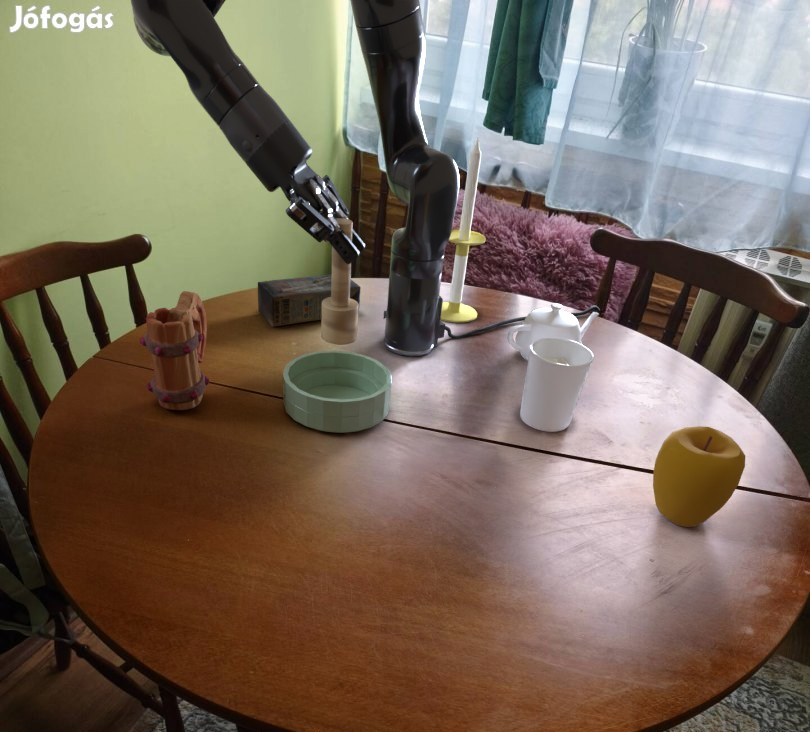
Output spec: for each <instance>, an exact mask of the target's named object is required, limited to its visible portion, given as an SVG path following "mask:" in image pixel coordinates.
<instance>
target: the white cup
mask: <svg viewBox="0 0 810 732" xmlns="http://www.w3.org/2000/svg"><path fill="white" fill-rule="evenodd" d="M593 362H594V353H593V351H591V349H590V348H588V347H587V346H586V345H583V344H580V343H577V342H575V341H572V340H568V339H563V338H554V337H548V338H541V339H537V340H535V341H534V342H532V343H531V345H530V353H529V359H528V361H527V367H526V371H525V372H526V373H525V379H524V385H523V390H522V391H523V392H522V397H521V403H520V411H519V416H520V419H521V421H522V422H523V423H524V424H525V425H527V426H529V427H530V428H533V429H535V430H538V431H542V432H547V433H555V432H561V431H565V430H566V429H567V428H568V427H569V426H570V424H571V422H572V419H573V417H574V415H575V412H576V408H577V405H578V403H579V400H580V397H581V394H582V391H583V388H584V385H585V383H586V380H587V377H588V374H589V372H590V368H591V366H592V363H593Z"/></svg>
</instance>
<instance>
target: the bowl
mask: <svg viewBox="0 0 810 732" xmlns="http://www.w3.org/2000/svg"><path fill="white" fill-rule="evenodd" d="M392 377H393V376H392V374H391V372H390V370H389V368H388V367H387V366H386V365H384V364H383V363H381V362H380V361H379V360H377V359H375V358H372V357H370V356H368V355H365V354H361V353H357V352H353V351H347V350H337V349H336V350H334V349H333V350H318V351H314V352H313V351H312V352H307V353H304V354H301V355H299V356H296V357H295V358H293V359H291V360H290V361H289V362H288V363H287V364H286V365H285V366H284V370H283V371H282V389H283V390H282V394H283V395H282V396H283V406H284V409H285V412H286V414H287V415H289V417H290V418H292V419H293V421H295V422H297V423H299V424H301V425H303V426H305V427H307V428H310V429H314V430H317V431H320V432H326V433H334V434H335V433H338V434H339V433H340V434H341V433H346V434H347V433H354V432H360V431H364V430H367V429H371V428H374V427H375V426H377V425H378V424H380V423H381V422H383V421H384V420H385V419H386V418H387V416H388V415H389V414H390V413H389V412H390V403H391V391H392Z"/></svg>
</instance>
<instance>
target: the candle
mask: <svg viewBox="0 0 810 732" xmlns="http://www.w3.org/2000/svg"><path fill="white" fill-rule="evenodd" d="M482 153H483V152H482V150H481V148H480V140H479V138H477V139H476V141H475V143H474V146H473V148H472V149H471V150H470V152H469V158H468V164H467V171H466V173H467V174H466V179H465V187H464V195H463V202H462V208H461V217H460V223H459V228H452V233H451V236H450V238H449V241H448V242H449V243H453V244H456V247H455V253H454V254H455V255H454V261H453V269H452V276H451V283H450V284H451V285H450V292H449V298H448V301H443V304H442V312H441V319H440V321H445V322H449V323H455V324H456V323H457V324H459V323H463V324H464V323H470V322H473V321H475V320H476V319H477V318H478V312H477V311H476V309H475V308H473V307H472V306H470V305H468V304H464V303H462V298H463V290H464V285H465V278H466V270H467V263H468V257H469V250H470V246H478V245H479V246H480V245H483V244H485V242H486V239H487V238H486V236H485V235H484V234H482V233H479V231H478V232H477V231H473V230H472V225H473V215H474V209H475V203H476V196H477V195H476V194H477V189H478V188H477V187H478V182H479V173H480V167H481V160H482Z"/></svg>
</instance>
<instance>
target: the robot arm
mask: <svg viewBox="0 0 810 732" xmlns="http://www.w3.org/2000/svg"><path fill="white" fill-rule="evenodd" d="M226 1H227V0H130V4H131V5H130V6H131V10H132V17H133V18H132V19H133V23H134V27H135V29H136V32H137V34H138V36H139V38H140V39H141V41H142V42H143V44H144V45H145V46H146V47H147V48H148V49H149V50H150V51H151V52H153V53H155V54H158V55H160V56H162V57H171V59H172V61H174V63H175V64H176V65H177V67H178V68H179V69H180V70H181V73H182V74H183V76H184V77H185V79H186V82H187V85H188V87H189V90H190V92H191V93H192V95H193V96H194V98H195V100H196V101H197V102H198V103H199V105H200V106H201V107H202V108H203V110H204V111H205V112H206V114H207V115H208V116H209V117H210V118H211V119H212V121H213V122H214V123H215V124H216V127H218V129H219V130H220V131H221V132H222V134H223V135H224V137H225V139H226V140H227V142H228V143H229V145H230V146H231V147H232V149H233V150H234V151H235V153H236V154H237V155H238V156H239V157H240V159H241V160H242V161H243V162H244V163H245V164H246V166H247V167H248V169H250V171H251V172H252V173H253V174H254V176H255V177H256V178H257V179H258V181H259V182H260V183H261V185H262V186H263V187H264V188H265V189H266V190H267V192H269V193H274V192H276V191H277V190H278V189H279V188H280V189H281V191H282V192H283V194H284V196H285V198H286V199H287V200H288V202H289V204H290V205H289V206H288V207H287V208H286V209H285V214H286V216H288V218H290V220H292V221H293V222H294V223H296V225H298V226H299V227H300V228H302V229H303V230H304V231H305V232H306V233H307V234H308V235H310V236H311V238H313V239H314V240H315V241H317V242H318V243H322V242H323V241H324V242H325V243H329V244H330V245H331V248H332V247H333V248H334V249H335V250H336V252H337V253H338V254H339V255H340V257H341V258H342V259H343V260H344V262H345V263H346V264H350V263H351V264H352V263H353V262H354V261H355V260H356V259H358V258H359V256H360V253H361V252H363V251H364V249H365V248H366V243H365V242H364V241H363V240H362V239H361V237H360V236H359V234H358V233H357V232H356V231H355V229H354V228H353V229H352V242H351V240H350V239H349V238H348V237H347V235H346V234H345V233H344V232H343V230H342V231H341V228H340V226H339V225H338V223H337V222H336V221H335V219H337V218H345V219H349V217H348V216H349V215H350V211H349V209H348V208H347V206H346V204H345V202H344V200H343V198H342V197H341V195H340V193H339V191H338V189H337V188H336V186H335V184H334V183H333V180H332V178H331V177H330V176H329V175H328V174H325V175H324V176H323V177H321V176H320V175H319V174H318V173H317V172H316V171H315V170H313V169H312V168H311V167H310V165H308V163H307V161H308V160H310V158H311V157H312V155H313V149H312V147H311V146H310V144H309V143H308V142H307V140H306V139H305V138H304V137H303V135H302V134H301V133H300V131H299V130H298V129H297V128H296V126H295V124H294V123H293V122H292V121H291V119H290V118H289V117H288V115H287V114H286V113H285V112H284V110H283V109H282V107H280V105H279V103H278V102H277V101H276V100H275V99H274V98H273V97H272V96H271V95H270V94H269V93H268V92H267V91H266V90H265V89H264V87H262V85H261V84H260V82H259V81H258V80H257V79H256V77H255V76H254V75H253V73H252V72H251V71H250V69H249V68H248V67H247V65H245V63H244V61H242V59H241V58H240V57H239V56H238V54H236V52H235V51H234V50H233V48H232V47H231V45H230V44H229V41H228V40H227V38H226V36H225V34H224V32H223V30H222V29H221V28H220V25H219V24H218V22H217V21H216V18H215V17H216V16H217V14H218V13H219V11H220V10H221V8H222V7H223V5H224V4H225V2H226ZM420 3H421V1H420V0H350V5H351V10H352V16H353V21H354V25H355V29H356V34H357V38H358V41H359V47H360V51H361V54H362V58H363V61H364V65H365V69H366V73H367V78H368V81H369V85H370V90H371V94H372V95H371V96H372V99H373V104H374V107H375V111H376V114H377V119H378V124H379V130H380V137H381V144H382V150H383V151H382V152H383V159H384V167H385V172H386V179H387V183H388V186H389V188H390V190H391V193H392V194H393V196H394V197H395V198H396V199H397V200H398V201H399V202H401V203H402V204H404V205H406V206H408V210H407V217H406V218H407V219H406V223H405V227H401V228H397V229H396V230H395V231H393V233H392V236H391V245H390V257H389V258H390V260H389V275H388V287H387V300H386V301H387V302H386V309H385V310H383V320H385V326H384V337H383V346H384V348H386V349H387V350H388V351H390V352H392V353H394V354H397V355H401V356H405V357H420V356H421V357H422V356H425V355H428V354H430V353H431V352H432V351H433V350H434V349H435V348H438V343H439V339H441V338H444V337H445V332H447V336H448V337H449V338H451V339H461V338H467V337H470V336H473V335H476V334H478V333H483V332H486V331H489V330H491V329H494V328H497V327H500V326H504V325H507V324H513V323H517V322H523V321H524V320H525V318H526V317H527V316H528V315H526V316H521V317H516V318H510V319H506V320H501V321H498V322H494V323H492V324H489V325H486V326H482V327H479V328H476V329H473V330H470V331H468V332H465V333H463V334H453V333H452V329H451V328H450V327H449V326H448V325H446V323H445V322H443V321H442V320H441V312H442V304H443V302H444V299H443V297H442V296H441V295H440V292H441V284H442V274H443V266H444V257H445V251H446V247H447V245H448V242H449V238H450V236H451V233H452V229H454V222H455V216H456V211H457V204H458V198H459V191H460V173H459V171H460V170H459V168H458V164H457V163H456V161H455V159H454V158H453V157H452V156H450V155H449V154H447V153H445V152H443V151H441V150H438V149H437V148H434V147H431V146H430V145H429V142H428V139H427V136H426V132H425V127H424V124H423V118H422V113H421V105H420V104H421V103H420V94H421V93H420V92H421V87H422V81H423V78H424V77H423V76H424V71H425V65H426V56H427V40H426V32H425V26H424V21H423V15H422V9H421V4H420ZM340 231H341V232H340ZM593 310H595V312H600V311H601V309H600V308H599V306H597V305H592V306H589V308H587V309H585V310H583V311H577V312H569V313H570V314H572V315H574V316H575V317H579V316H584V315H587V314H589V313H590V312H592V311H593Z"/></svg>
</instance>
